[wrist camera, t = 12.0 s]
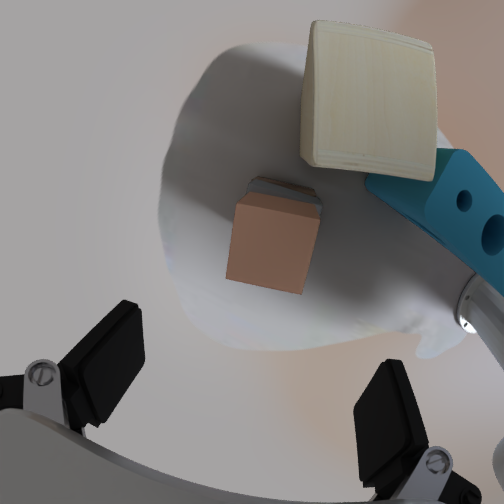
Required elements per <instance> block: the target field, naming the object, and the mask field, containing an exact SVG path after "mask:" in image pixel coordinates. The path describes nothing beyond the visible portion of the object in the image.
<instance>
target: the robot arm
mask: <svg viewBox="0 0 504 504" xmlns="http://www.w3.org/2000/svg"><path fill="white" fill-rule="evenodd" d="M457 318H458V322H459V324H460V326H461V327H462V328H463V329H464V330H465V331H466V332H468V333H478V335H479V336H480V337H481V339H482V340H483V341H484V343H485V344H486V345H487V347H488V348H489V350H490V351H491V353H492V354H493V355H494V357H495V358H496V360H497V361H498V363H499V364H500V366H501V367H502V369H503V370H504V297H503V296H502V295H501V294H500V293H499V292H497V291H496V290H495V289H494V288H493V287H492V286H491V285H490V284H489V283H488V282H486V281H485V280H484V279H483V278H482V277H481V276H480V275H478V274H477V273H476V274H475V275H474V276H473V277H472V279H471V280H470V281H469V282H468V284H467V286H466V287H465V289H464V291H463V293H462V295H461V297H460V300H459V303H458V308H457ZM144 362H145V351H144V339H143V326H142V311H141V309H140V308H138V305H137V304H136V303H133V302H130V301H127V300H122V301H121V302H120V303H119V304H118V305H117V306H116V307H115V308H114V309H113V310H112V311H110V312H109V313H108V314H107V315H106V316H105V317H104V318H103V319H102V320H101V321H100V322H99V323H98V324H97V325H96V326H95V327H94V328H93V329H92V330H91V331H90V332H89V333H88V334H87V335H86V336H85V337H84V338H83V339H82V340H81V341H80V342H79V343H78V344H77V345H76V346H75V347H74V348H73V349H72V350H71V351H70V352H69V353H68V354H67V355H66V356H65V357H64V358H63V359H62V360H61V361H60V362H59V363H58V364H57V365H56V364H55V363H53V362H52V361H50V360H46V359H41V360H36V361H34V362H32V363H31V364H30V365H29V366H28V367H27V369H26V370H25V374H24V375H13V376H2V377H0V504H481V500H482V496H481V492H480V490H479V488H477V487H476V486H475V485H474V484H472V483H470V482H469V481H467V480H466V479H464V478H463V477H461V476H460V475H458V474H457V473H455V472H454V471H452V467H453V459H452V457H451V455H450V453H449V452H448V451H447V450H446V449H444V448H442V447H440V446H433V447H430V448H429V445H428V443H429V441H428V438H427V435H426V431H425V427H424V424H423V421H422V417H421V414H420V411H419V408H418V405H417V402H416V399H415V396H414V393H413V390H412V387H411V384H410V381H409V379H408V376H407V373H406V370H405V368H404V365H403V363H402V361H401V360H395V359H387V360H386V361H385V362H382V363H381V364H380V366H379V367H378V369H377V371H376V372H375V374H374V376H373V377H372V379H371V381H370V382H369V384H368V386H367V387H366V389H365V390H364V392H363V393H362V395H361V397H360V398H359V400H358V401H357V403H356V404H355V406H354V411H353V414H354V422H355V432H356V442H357V453H358V466H359V478H360V481H363V488H365V487H366V488H367V487H375V494H374V495H373V496H372V498H371V499H370V500H369V501H368V502H343V503H321V502H300V501H287V500H278V499H269V498H262V497H255V496H249V495H244V494H238V493H233V492H229V491H224V490H219V489H215V488H211V487H208V486H204V485H200V484H196V483H193V482H190V481H186V480H183V479H180V478H177V477H174V476H171V475H168V474H165V473H162V472H159V471H157V470H154V469H152V468H149V467H147V466H144V465H141V464H139V463H137V462H134V461H132V460H130V459H128V458H125V457H123V456H121V455H119V454H117V453H115V452H113V451H111V450H108V449H106V448H104V447H102V446H100V445H98V444H96V443H95V442H92V441H91V440H89V439H87V438H86V435H85V430H84V427H85V426H86V424H87V423H90V424H91V425H93V426H95V427H97V428H98V427H99V425H100V424H101V423H105V422H106V421H107V419H108V418H109V416H110V415H111V413H112V412H113V410H114V409H115V407H116V406H117V404H118V403H119V401H120V400H121V398H122V397H123V395H124V394H125V392H126V391H127V389H128V388H129V386H130V385H131V383H132V382H133V380H134V379H135V377H136V376H137V374H138V373H139V371H140V370H141V368H142V367H143V365H144ZM493 469H494V472H495V475H496V478H497V479H498V482H499V483H500V485H501V487H502V489H503V491H504V438H503V439H502V440H501V441H500V442H499V444H498V445H497V447H496V448H495V451H494V453H493Z"/></svg>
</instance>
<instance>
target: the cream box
mask: <svg viewBox="0 0 504 504" xmlns="http://www.w3.org/2000/svg"><path fill="white" fill-rule="evenodd" d="M436 147H437V89H436V73H435V63H434V54H433V49H432V46H431V45H430V44H429V43H427V42H424V41H421V40H418V39H415V38H412V37H408V36H405V35H401V34H397V33H393V32H389V31H385V30H381V29H376V28H371V27H366V26H361V25H355V24H349V23H342V22H334V21H324V20H317V21H313V22H312V24H311V28H310V35H309V44H308V51H307V57H306V65H305V72H304V79H303V86H302V93H301V121H300V157H301V158H302V159H304V160H305V161H306V162H307V163H308V164H309V165H310V166H313V167H323V168H334V169H344V170H353V171H361V172H369V173H377V174H384V175H391V176H398V177H404V178H410V179H416V180H422V181H432V180H433V177H434V172H435V163H436Z"/></svg>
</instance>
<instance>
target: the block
mask: <svg viewBox="0 0 504 504" xmlns="http://www.w3.org/2000/svg"><path fill="white" fill-rule="evenodd" d="M365 186H366V188H367V190H369V191H370V192H371V193H373V194H374V195H376V196H377V197H378V198H380V199H381V200H383V201H384V202H385V203H387V204H388V205H389V206H391V207H392V208H393V209H395V210H396V211H397V212H399V213H400V214H401V215H403V216H404V217H405V218H407V219H408V220H409V221H411V222H412V223H414V224H415V225H416V226H418V227H419V228H420V229H422V230H423V231H424V232H426V233H427V234H428V235H430V236H431V237H432V238H434V239H435V240H436V241H437V242H439V243H440V244H441V245H443V246H444V247H445V248H447V249H448V250H449V251H451V252H452V253H453V254H454V255H456V256H457V257H458V258H459V259H461V260H462V261H463V262H464V263H465V264H467V265H468V266H469V267H470V268H471V269H473V270H474V271H475V272H476V273H477V274H478V275H480V276H481V277H482V278H483V279H484V280H485V281H486V282H488V283H489V284H490V285H491V286H492V287H493V288H494V289H495V290H496V291H497V292H499V293H500V294H501V295H502V296H503V297H504V193H503V192H502V190H501V189H500V188H499V187H498V185H497V184H496V183H495V182H494V180H493V179H492V178H491V177H490V176H489V174H488V173H487V172H486V171H485V170H484V169H483V167H482V166H481V165H480V164H479V163H478V162H477V161H476V160H475V159H474V158H473V156H472V155H471V154H470V153H469V152H467V151H466V150H463V149H447V148H436V163H435V172H434V177H433V180H432V181H422V180H416V179H410V178H404V177H398V176H391V175H384V174H377V173H369V175H368V177H367V178H366V181H365Z"/></svg>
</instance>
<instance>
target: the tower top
mask: <svg viewBox="0 0 504 504" xmlns="http://www.w3.org/2000/svg"><path fill="white" fill-rule="evenodd" d="M249 192H255V193H261V194H266V195H271V196H277V197H282V198H287V199H291V200H296V201H301V202H306V203H310V204H315V206H316V209H317V212H318V215H319V216H320V213H321V210H322V207H323V206H322V204H321V202H320V200H319V198H316V197H313V196H310V195H307V194H304V193H301V192H298V191H295V190H291V189H288V188H285V187H282V186H278V185H275V184H272V183H268V182H265V181H261V180H258V179H255V180H253V181H252V182H250V183H249V185H248V188H247V192H246V194H247V193H249Z"/></svg>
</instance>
